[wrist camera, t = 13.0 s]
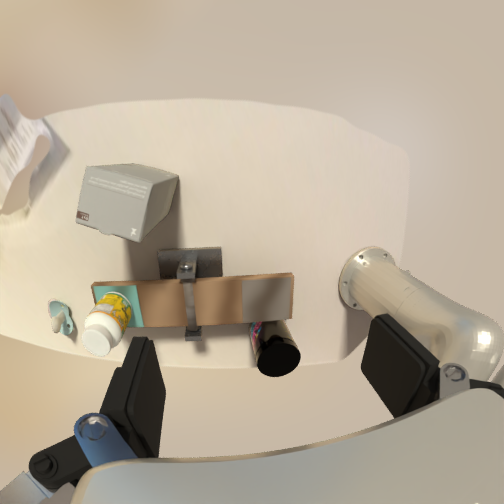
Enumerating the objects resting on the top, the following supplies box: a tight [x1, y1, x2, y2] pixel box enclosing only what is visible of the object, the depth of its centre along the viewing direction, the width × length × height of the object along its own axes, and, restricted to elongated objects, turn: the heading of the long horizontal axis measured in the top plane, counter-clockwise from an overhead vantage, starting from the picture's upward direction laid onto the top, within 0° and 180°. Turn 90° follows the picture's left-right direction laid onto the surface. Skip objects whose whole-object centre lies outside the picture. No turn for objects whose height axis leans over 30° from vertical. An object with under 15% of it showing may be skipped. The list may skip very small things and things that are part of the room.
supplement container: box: [249, 320, 301, 377], centre depth 44 cm, size 7×7×10 cm
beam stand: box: [158, 247, 222, 341], centre depth 41 cm, size 10×13×8 cm
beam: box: [91, 273, 294, 331], centre depth 39 cm, size 30×9×2 cm, turn 91°
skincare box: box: [76, 163, 179, 243], centre depth 32 cm, size 8×7×16 cm
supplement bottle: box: [81, 292, 132, 356], centre depth 32 cm, size 5×5×10 cm
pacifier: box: [48, 299, 73, 335], centre depth 40 cm, size 7×6×6 cm
